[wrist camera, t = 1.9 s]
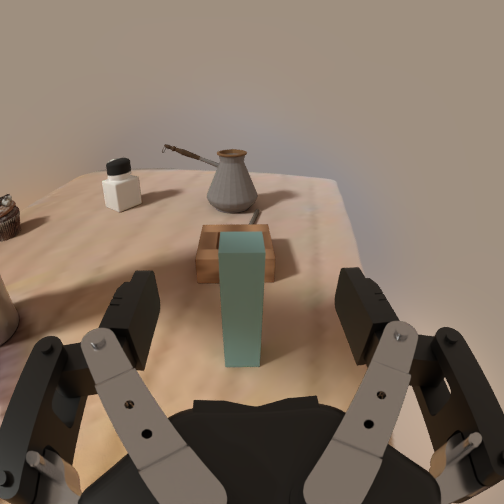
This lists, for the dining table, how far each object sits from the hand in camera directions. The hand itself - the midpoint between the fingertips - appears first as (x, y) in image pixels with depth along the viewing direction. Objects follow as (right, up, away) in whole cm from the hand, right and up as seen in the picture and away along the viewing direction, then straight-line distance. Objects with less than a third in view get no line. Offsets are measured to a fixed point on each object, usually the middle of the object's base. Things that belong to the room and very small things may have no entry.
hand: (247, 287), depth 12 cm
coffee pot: (-9, +12, +56) cm, 58 cm away
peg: (-1, -10, +19) cm, 21 cm away
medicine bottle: (-32, +13, +57) cm, 66 cm away
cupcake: (-62, +6, +44) cm, 76 cm away
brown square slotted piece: (-2, 0, +35) cm, 35 cm away
